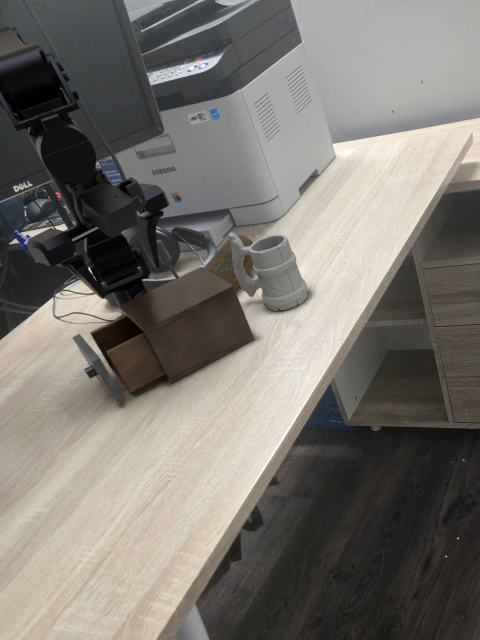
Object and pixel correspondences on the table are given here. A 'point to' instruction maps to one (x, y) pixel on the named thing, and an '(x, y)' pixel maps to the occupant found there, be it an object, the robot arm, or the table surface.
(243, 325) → the cabinet
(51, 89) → the robot arm
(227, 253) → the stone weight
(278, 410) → the table surface
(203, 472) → the table surface
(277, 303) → the mug
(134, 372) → the drawer
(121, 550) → the table surface
